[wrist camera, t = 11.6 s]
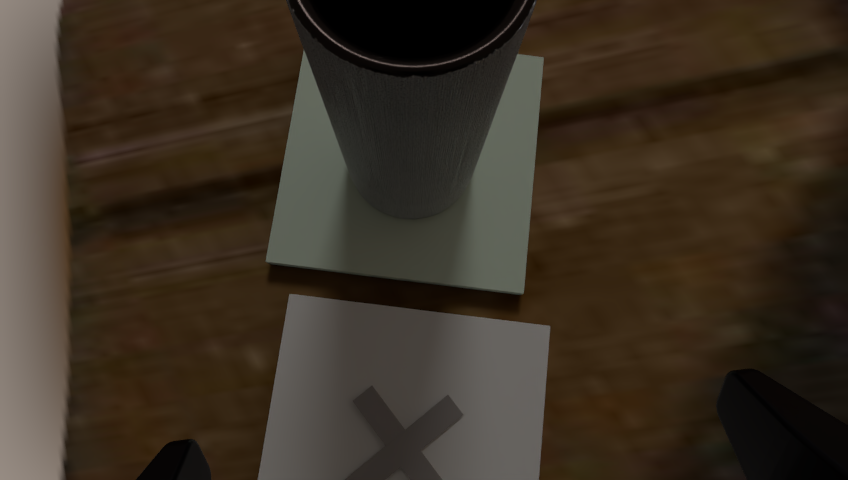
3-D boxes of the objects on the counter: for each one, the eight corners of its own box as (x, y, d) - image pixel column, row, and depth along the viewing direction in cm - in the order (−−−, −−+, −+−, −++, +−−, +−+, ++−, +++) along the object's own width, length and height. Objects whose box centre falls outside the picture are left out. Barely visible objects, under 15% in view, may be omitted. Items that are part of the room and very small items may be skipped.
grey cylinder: (492, 126, 19) (580, -109, 9) (447, 239, 19) (491, 116, 8) (376, 83, 20) (340, -193, 10) (328, 193, 19) (231, 18, 9)
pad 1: (520, 295, 19) (524, 293, 18) (269, 264, 19) (265, 261, 18) (539, 65, 21) (544, 56, 20) (310, 37, 21) (307, 26, 20)
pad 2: (524, 608, 17) (529, 619, 16) (246, 573, 17) (239, 583, 16) (545, 326, 19) (551, 325, 18) (293, 295, 19) (288, 293, 18)
